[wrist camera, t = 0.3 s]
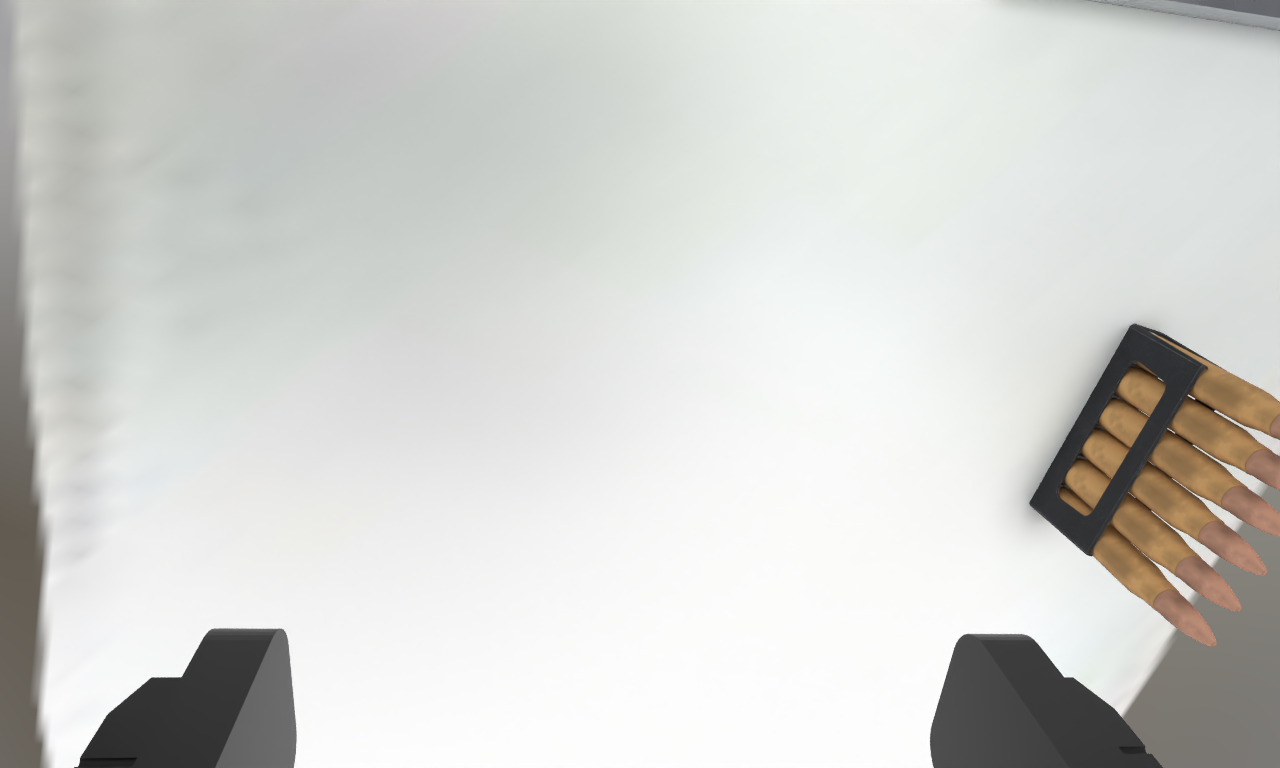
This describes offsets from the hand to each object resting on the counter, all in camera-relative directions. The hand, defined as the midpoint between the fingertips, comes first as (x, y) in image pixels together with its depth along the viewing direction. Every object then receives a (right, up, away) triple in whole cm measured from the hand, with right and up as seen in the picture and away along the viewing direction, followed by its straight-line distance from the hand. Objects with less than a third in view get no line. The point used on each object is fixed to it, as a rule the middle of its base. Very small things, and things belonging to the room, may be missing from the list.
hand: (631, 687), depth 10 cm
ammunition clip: (+23, +2, +33) cm, 41 cm away
